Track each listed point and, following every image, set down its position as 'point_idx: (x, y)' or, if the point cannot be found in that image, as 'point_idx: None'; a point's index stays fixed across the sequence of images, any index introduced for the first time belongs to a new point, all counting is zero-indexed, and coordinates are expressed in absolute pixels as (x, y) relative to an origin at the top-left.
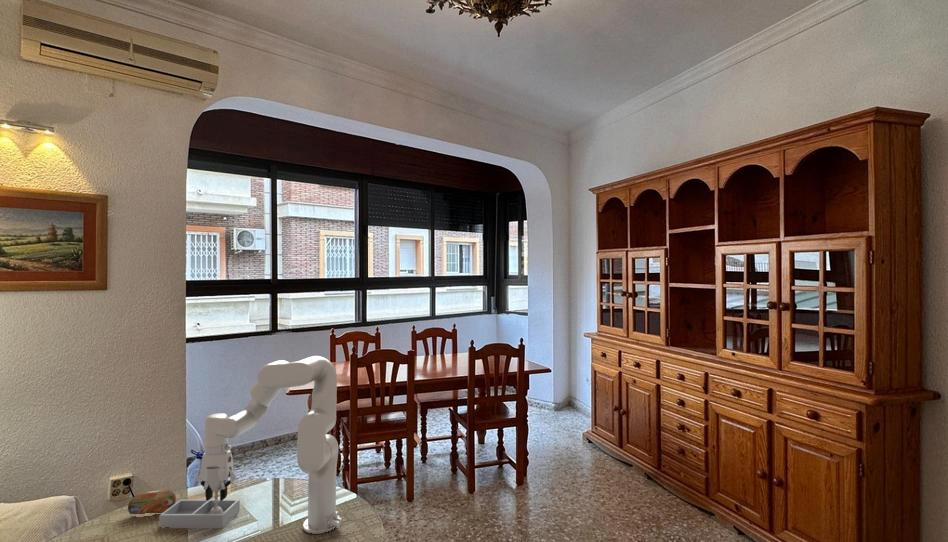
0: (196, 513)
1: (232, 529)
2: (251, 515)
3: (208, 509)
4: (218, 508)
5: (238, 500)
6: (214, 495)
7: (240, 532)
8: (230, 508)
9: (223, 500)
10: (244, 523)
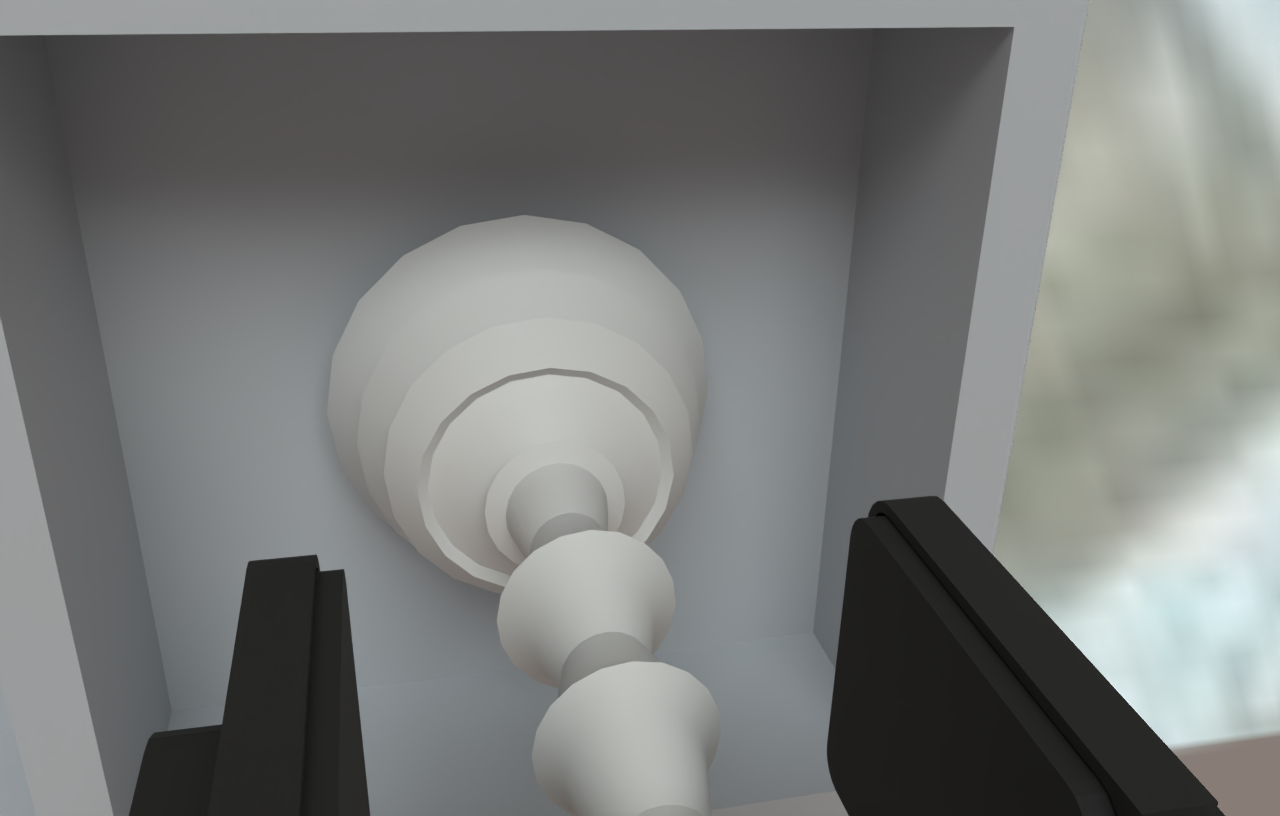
0: (119, 760)
1: None
2: (1237, 121)
3: (36, 79)
4: (638, 508)
5: (1079, 20)
6: (564, 794)
7: (1177, 700)
8: (993, 502)
9: (534, 22)
10: (1171, 443)
